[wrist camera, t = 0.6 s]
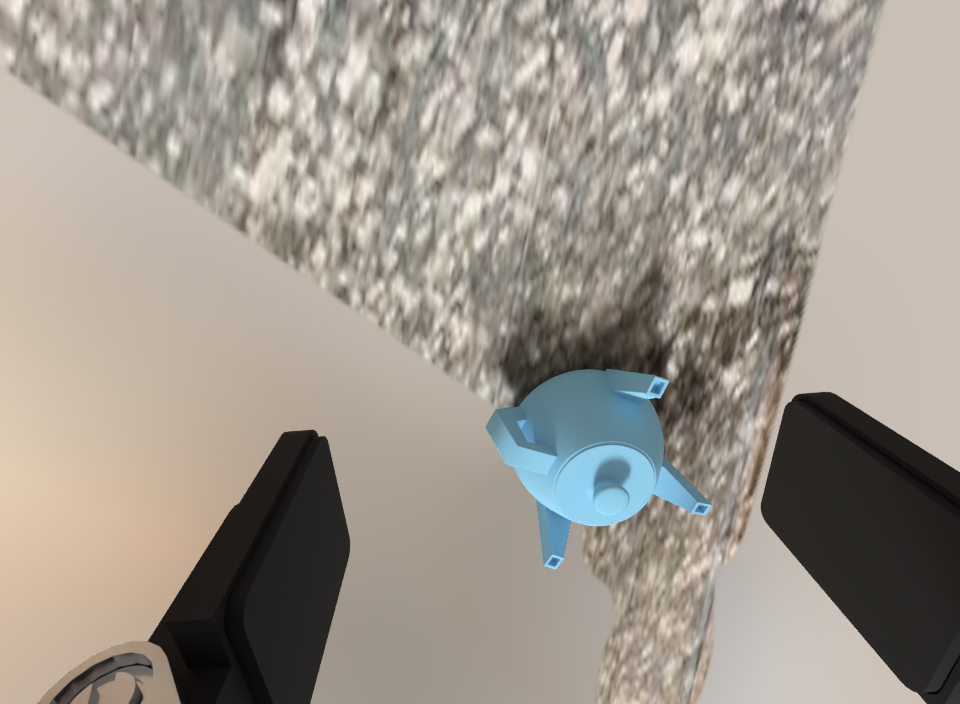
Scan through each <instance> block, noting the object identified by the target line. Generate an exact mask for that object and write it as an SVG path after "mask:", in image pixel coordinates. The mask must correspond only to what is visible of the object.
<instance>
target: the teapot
mask: <svg viewBox="0 0 960 704" xmlns="http://www.w3.org/2000/svg"><path fill="white" fill-rule="evenodd" d="M668 383H669V380H668V379H665V378H662V377H658V376H655V375H650V374H642V373H635V372H628V371H621V370H613V369H606V371H602V370H591V369H585V370H575V371H570V372H566V373H563V374H560V375H557V376H555V377H553V378H551V379H549V380H547V381H545V382H544V383H542V384H540V385H539V386H538V387H537V388H535V389H534V390H533V391H532V392H531V393H530V394H529V395H528V396H527V397H526V398H525V399H524V401H523V402H522V403H521V404H520V406H518V407H510V408H502V409H495V411H494V413H493V415H492V416H491V418H490V420H489V422H488V423H487V425H486V429H487V431H488V433H489V434H490V436H491V438H492V440H493V441H494V443H495V445H496V447H497V449H498V450H499V452H500V454H501V456H502V458H503V460H504V461H505V463H506V464H507V465H510V466H514V468H515V470H516V473H517V475H518V476H519V478H520V480H521V481H522V483H523V484H524V486H525V487H526V488H527V490H528V491H529V492H530V493H531V494H532V495H533V496H534V497H535V498H536V500H537V510H538V518H539V528H540V537H541V546H542V555H543V564H544V566H546V567H549V568H552V569H555V570H556V569H557V567H558V566H559V565H560V563H561V562H562V561H563V560H564V553H565V548H566V542H567V538H568V533H569V528H570V524H571V521H574V522H577V523H580V524H584V525H589V526H606V525H611V524H615V523H618V522H621V521H623V520H625V519H627V518H629V517H631V516H633V515H634V514H636V513H637V512H638V511H639V510H640V509H641V508H642V507H643V506H644V505H645V504H646V503H647V502H648V500H649V499H650V497H651V495H652V494H655V495H657V496H659V497H661V498H663V499H665V500H667V501H669V502H672V503H674V504H676V505H678V506H680V507H682V508H684V509H686V510H688V511H689V512H690V513H693V514H699V515H704V516H705V515H706V514H707V512H708V511H709V509H710V508H711V506H712V504H711V503H710V502H709V501H708V500H707V499H706V498H705V497H704V496H703V495H702V494H701V493H700V492H699V491H698V490H697V489H696V488H695V487H694V486H693V485H692V484H691V483H690V482H689V481H688V480H687V479H686V478H685V477H684V476H683V475H682V474H681V473H680V472H679V471H678V470H677V469H676V468H675V467H674V466H673V465H671V464H670V463H669V462H668V461H667V460H666V459H665V458H664V457H663V453H664V442H663V433H662V428H661V424H660V421H659V418H658V416H657V413H656V411H655V408H654V406H653V405H652V403H651V401H650V400H649V399H652V398H659V399H660V398H661V396H662V394H663V392H664V391H665V389H666V387H667V385H668Z"/></svg>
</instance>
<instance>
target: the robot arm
mask: <svg viewBox="0 0 960 704" xmlns="http://www.w3.org/2000/svg"><path fill="white" fill-rule="evenodd" d="M761 512H762V515H763V517H764V520H765V521H766V523H767V524H768V525H769V527H770V528H771V529H772V530H773V531H774V532H775V534H776V535H777V536H778V537H779V538H780V540H781V541H782V542H783V543H784V544H785V545H786V547H787V548H788V549H789V550H790V551H791V553H792V554H793V555H794V556H795V557H796V558H797V560H798V561H799V562H800V563H801V564H802V566H803V567H804V568H805V569H806V570H807V571H808V573H809V574H810V575H811V576H812V577H813V579H814V580H815V581H816V582H817V583H818V584H819V585H820V587H821V588H822V589H823V590H824V591H825V593H826V594H827V595H828V596H829V597H830V599H831V600H832V601H833V602H834V603H835V604H836V606H837V607H838V608H839V609H840V610H841V612H842V613H843V614H844V615H845V616H846V617H847V618H848V619H849V621H850V622H851V623H852V624H853V626H854V627H855V628H856V629H857V630H858V632H859V633H860V634H861V635H862V636H863V637H864V639H865V640H866V641H867V642H868V643H869V645H870V646H871V647H872V648H873V649H874V650H875V652H876V653H877V654H878V655H879V656H880V658H881V659H882V660H883V661H884V662H885V663H886V664H887V666H888V667H889V668H890V669H891V670H892V672H893V673H894V674H895V675H896V676H897V678H898V679H899V680H900V681H901V682H902V683H903V684H904V685H905V686H906V687H907V688H909V689H910V690H912V691H914V692H917V693H918V694H919V695H920V696H921V697H922V699H923V700H924V701H925V702H926V703H927V704H960V472H959V471H957V470H955V469H954V468H952V467H951V466H949V465H947V464H946V463H944V462H943V461H941V460H939V459H938V458H936V457H934V456H933V455H931V454H930V453H928V452H927V451H925V450H923V449H922V448H920V447H919V446H917V445H915V444H914V443H912V442H911V441H909V440H908V439H906V438H904V437H903V436H901V435H899V434H898V433H896V432H895V431H893V430H892V429H890V428H888V427H887V426H885V425H883V424H882V423H880V422H879V421H877V420H875V419H874V418H872V417H871V416H869V415H867V414H866V413H864V412H863V411H861V410H860V409H858V408H856V407H855V406H853V405H852V404H850V403H849V402H847V401H845V400H844V399H842V398H841V397H839V396H837V395H836V394H833V393H831V392H819V393H806V394H798V395H796V396H795V397H794V398H793V399H792V401H791V402H789V403H788V404H787V405H786V406H785V409H784V413H783V417H782V421H781V425H780V429H779V433H778V437H777V441H776V445H775V450H774V453H773V457H772V461H771V465H770V469H769V473H768V478H767V481H766V486H765V490H764V494H763V498H762V502H761ZM349 553H350V538H349V533H348V528H347V524H346V519H345V515H344V510H343V506H342V502H341V497H340V493H339V488H338V484H337V480H336V475H335V470H334V466H333V461H332V457H331V453H330V449H329V444H328V440H327V439H326V437H325V436H321V437H319V436H318V434H317V432H316V431H315V430H304V431H290V432H284V433H283V434H282V435H281V437H280V438H279V440H278V442H277V444H276V445H275V447H274V448H273V450H272V451H271V453H270V455H269V456H268V458H267V459H266V461H265V463H264V464H263V466H262V468H261V469H260V471H259V472H258V474H257V476H256V477H255V479H254V480H253V482H252V484H251V485H250V487H249V488H248V490H247V492H246V493H245V495H244V497H243V498H242V500H241V502H240V503H239V504H237V505H235V506H234V507H233V509H232V510H231V511H230V512H229V514H228V516H227V517H226V518H225V520H224V522H223V523H222V525H221V527H220V528H219V530H218V531H217V533H216V534H215V536H214V538H213V539H212V541H211V543H210V544H209V545H208V547H207V549H206V550H205V552H204V553H203V555H202V557H201V558H200V560H199V561H198V563H197V564H196V566H195V568H194V570H193V571H192V572H191V574H190V575H189V577H188V579H187V580H186V582H185V583H184V585H183V587H182V588H181V590H180V591H179V593H178V595H177V596H176V598H175V599H174V601H173V602H172V604H171V606H170V607H169V609H168V610H167V612H166V614H165V615H164V617H163V618H162V620H161V621H160V623H159V625H158V626H157V628H156V629H155V631H154V633H153V634H152V636H151V637H150V639H149V641H145V642H144V641H143V642H129V643H125V644H122V645H117V646H114V647H111V648H109V649H107V650H105V651H103V652H101V653H99V654H96V655H94V656H92V657H90V658H89V659H88V660H86V661H85V662H83V663H82V664H80V665H79V666H77V667H76V668H74V669H73V670H71V671H70V672H68V673H67V674H66V675H65V676H64V677H63V678H62V679H61V680H60V681H58V682H57V683H56V684H55V685H54V686H53V687H52V688H51V689H49V690H48V692H47V693H46V694H45V695H44V697H43V698H42V699H41V700H40V701H39V702H38V704H310V702H311V698H312V694H313V690H314V687H315V683H316V679H317V675H318V672H319V668H320V664H321V660H322V657H323V653H324V649H325V645H326V641H327V638H328V634H329V630H330V626H331V622H332V618H333V615H334V611H335V607H336V604H337V600H338V596H339V592H340V588H341V585H342V580H343V577H344V573H345V569H346V566H347V562H348V558H349Z"/></svg>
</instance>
